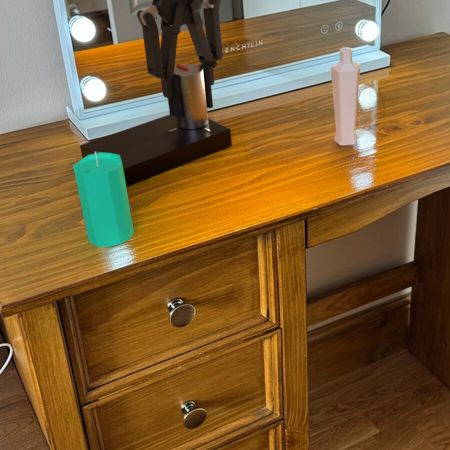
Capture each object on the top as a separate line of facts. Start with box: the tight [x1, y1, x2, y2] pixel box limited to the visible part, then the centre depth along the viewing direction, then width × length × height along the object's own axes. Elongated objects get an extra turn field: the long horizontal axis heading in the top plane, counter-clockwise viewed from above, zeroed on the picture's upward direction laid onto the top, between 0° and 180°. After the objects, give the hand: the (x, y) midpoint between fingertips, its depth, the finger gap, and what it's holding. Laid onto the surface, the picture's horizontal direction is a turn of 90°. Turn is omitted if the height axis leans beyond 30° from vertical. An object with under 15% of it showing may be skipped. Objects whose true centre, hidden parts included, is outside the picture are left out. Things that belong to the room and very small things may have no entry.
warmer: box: [79, 113, 233, 188], centre depth 120 cm, size 22×12×3 cm, turn 132°
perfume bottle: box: [330, 46, 361, 146], centre depth 119 cm, size 5×4×15 cm
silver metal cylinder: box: [174, 63, 209, 129], centre depth 121 cm, size 5×5×9 cm
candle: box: [72, 152, 135, 248], centre depth 97 cm, size 6×6×12 cm
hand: (191, 110), depth 122 cm, fingers closed on silver metal cylinder, 5 cm apart
